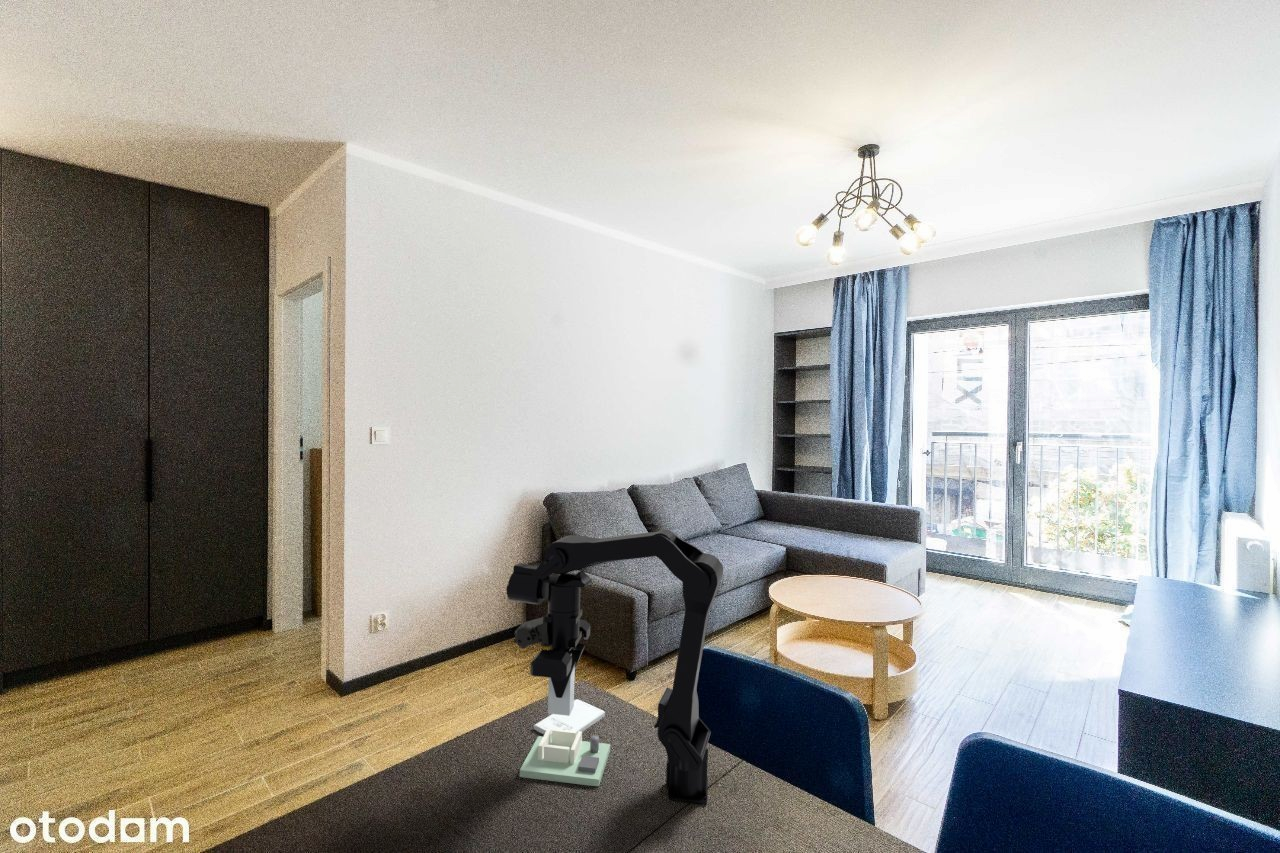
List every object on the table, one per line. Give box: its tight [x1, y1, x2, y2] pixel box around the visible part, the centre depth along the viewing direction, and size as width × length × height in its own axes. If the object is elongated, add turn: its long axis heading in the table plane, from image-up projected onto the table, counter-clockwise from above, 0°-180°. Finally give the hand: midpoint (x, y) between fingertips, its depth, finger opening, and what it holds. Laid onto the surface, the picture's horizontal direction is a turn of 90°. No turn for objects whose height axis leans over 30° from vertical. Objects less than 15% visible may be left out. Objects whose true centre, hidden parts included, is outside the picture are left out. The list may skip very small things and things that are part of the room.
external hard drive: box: [533, 698, 606, 738], centre depth 110 cm, size 2×8×12 cm
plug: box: [547, 666, 576, 716], centre depth 97 cm, size 4×3×9 cm
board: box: [519, 728, 611, 787], centre depth 97 cm, size 14×10×4 cm
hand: (561, 692), depth 98 cm, fingers closed on plug, 3 cm apart
